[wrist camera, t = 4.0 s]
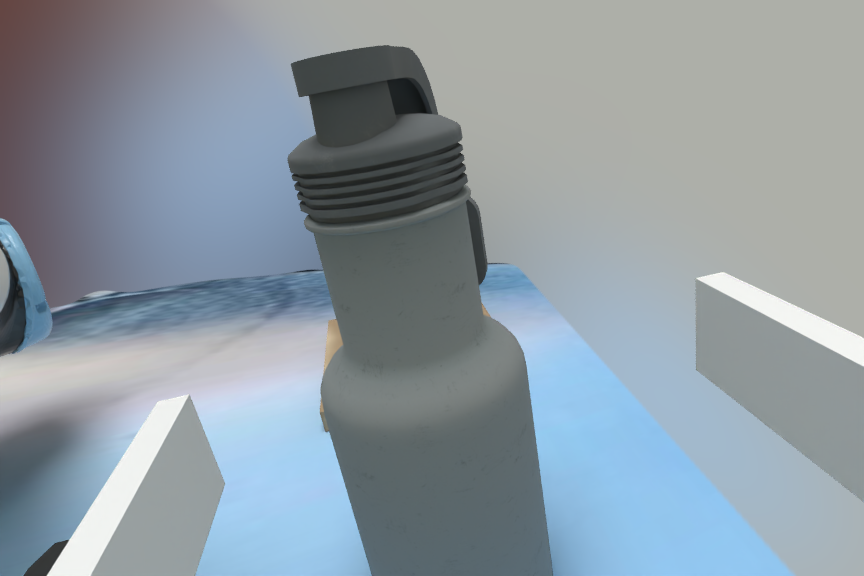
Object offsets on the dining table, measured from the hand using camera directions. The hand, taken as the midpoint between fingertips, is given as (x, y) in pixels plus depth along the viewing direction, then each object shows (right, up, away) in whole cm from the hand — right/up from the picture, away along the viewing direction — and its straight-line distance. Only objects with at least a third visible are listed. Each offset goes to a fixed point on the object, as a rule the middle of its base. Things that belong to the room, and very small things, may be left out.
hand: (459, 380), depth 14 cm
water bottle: (+1, -15, +17) cm, 22 cm away
